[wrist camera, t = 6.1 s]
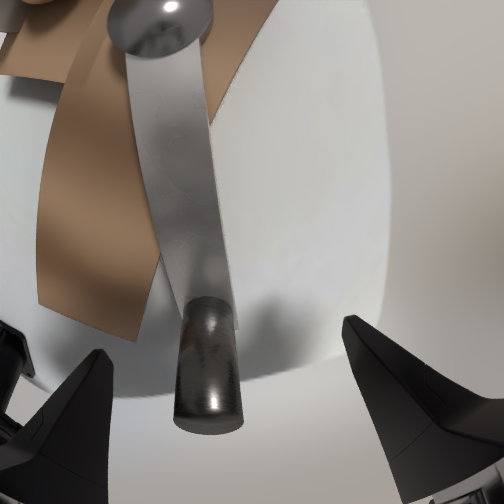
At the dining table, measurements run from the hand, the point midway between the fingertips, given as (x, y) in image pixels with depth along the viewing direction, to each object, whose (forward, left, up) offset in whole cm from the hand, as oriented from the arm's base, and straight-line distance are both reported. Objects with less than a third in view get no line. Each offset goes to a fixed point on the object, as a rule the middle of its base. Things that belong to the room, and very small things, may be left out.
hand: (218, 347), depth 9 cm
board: (+4, +8, -5) cm, 11 cm away
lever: (+6, +4, -3) cm, 7 cm away
